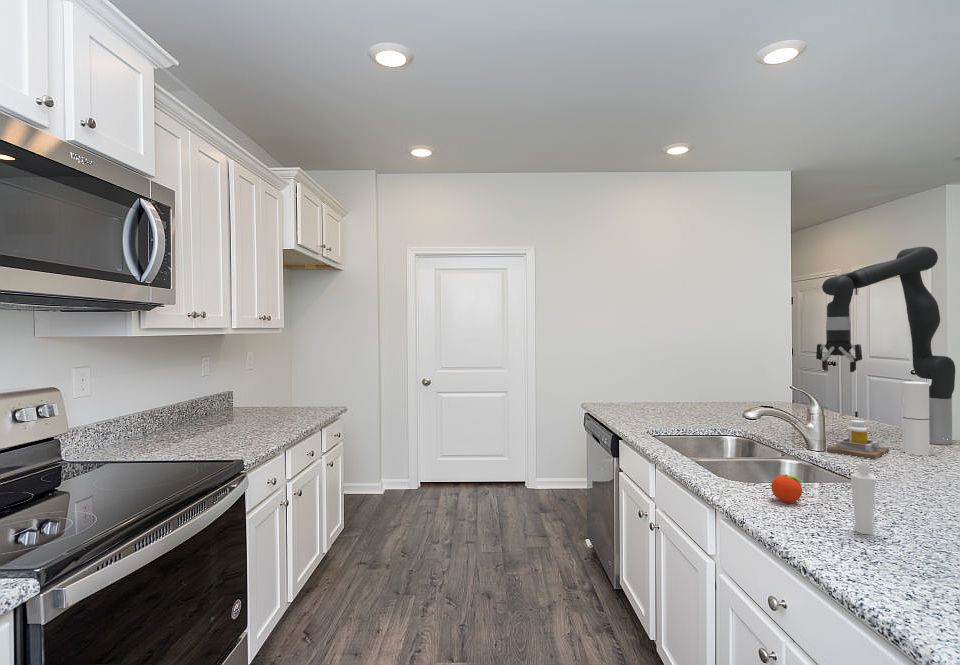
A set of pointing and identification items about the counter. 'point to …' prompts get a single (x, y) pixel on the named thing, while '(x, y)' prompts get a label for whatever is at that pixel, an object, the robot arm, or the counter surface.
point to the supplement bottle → (858, 432)
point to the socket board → (858, 449)
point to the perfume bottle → (863, 499)
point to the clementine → (787, 488)
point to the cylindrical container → (915, 418)
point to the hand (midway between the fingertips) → (838, 371)
